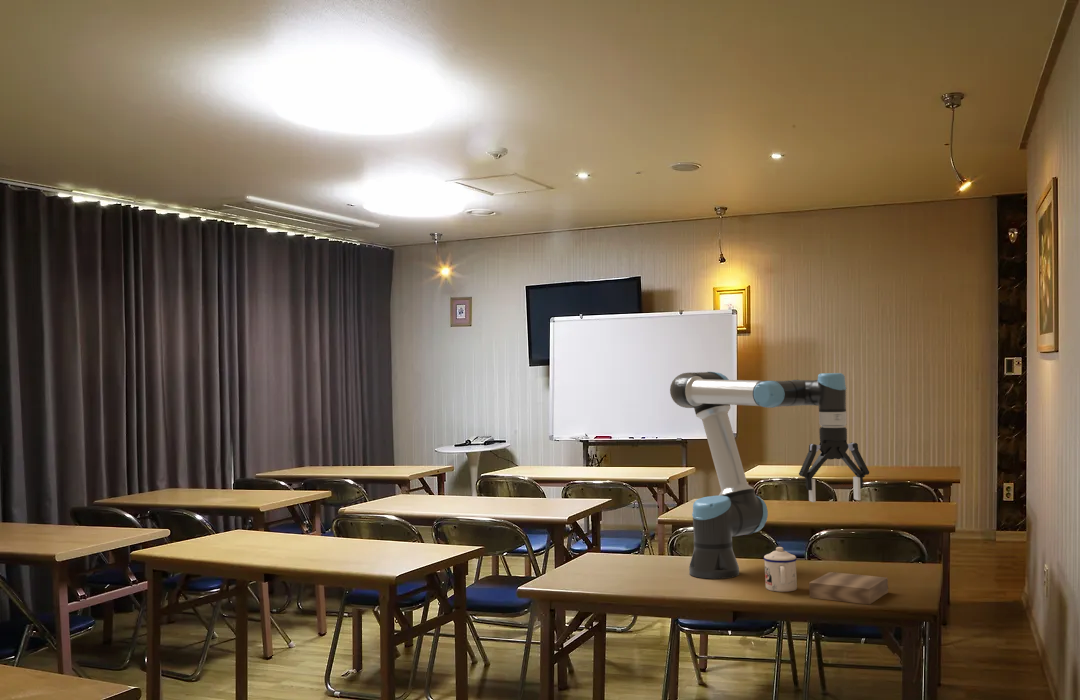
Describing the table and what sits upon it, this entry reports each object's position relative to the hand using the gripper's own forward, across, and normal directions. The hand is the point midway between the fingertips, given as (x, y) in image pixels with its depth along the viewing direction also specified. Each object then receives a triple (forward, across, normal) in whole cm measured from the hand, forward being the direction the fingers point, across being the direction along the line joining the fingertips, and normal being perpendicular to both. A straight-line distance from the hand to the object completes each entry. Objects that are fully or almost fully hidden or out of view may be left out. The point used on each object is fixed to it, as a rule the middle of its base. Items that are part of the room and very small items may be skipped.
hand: (834, 500), depth 258 cm
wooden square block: (+24, -2, -12) cm, 27 cm away
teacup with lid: (+24, -17, -1) cm, 30 cm away
